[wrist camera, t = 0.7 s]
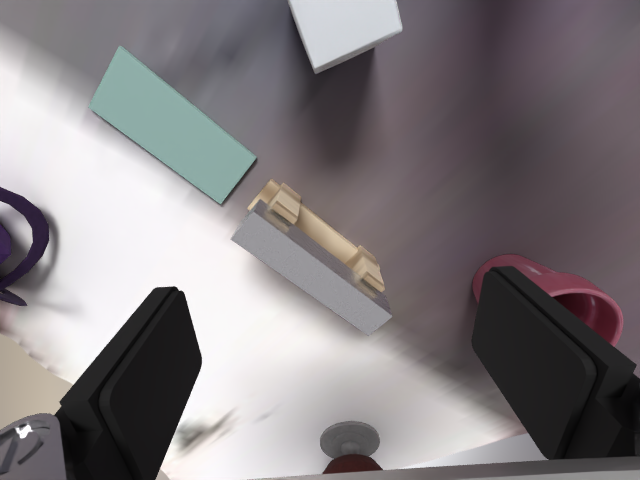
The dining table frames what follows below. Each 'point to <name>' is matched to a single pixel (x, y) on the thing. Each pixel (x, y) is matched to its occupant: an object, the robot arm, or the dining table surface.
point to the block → (311, 267)
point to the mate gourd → (350, 447)
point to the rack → (320, 231)
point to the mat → (170, 126)
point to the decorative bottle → (40, 232)
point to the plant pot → (565, 294)
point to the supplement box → (343, 28)
